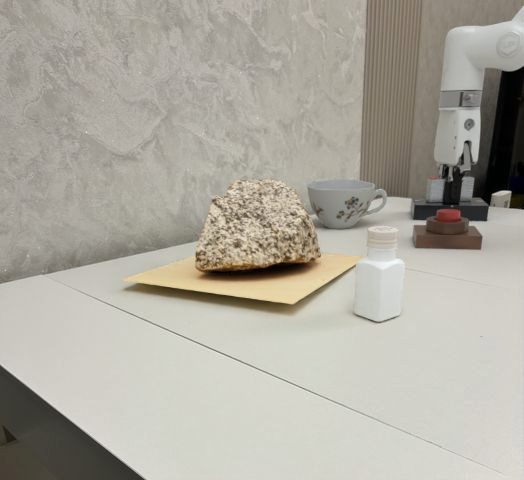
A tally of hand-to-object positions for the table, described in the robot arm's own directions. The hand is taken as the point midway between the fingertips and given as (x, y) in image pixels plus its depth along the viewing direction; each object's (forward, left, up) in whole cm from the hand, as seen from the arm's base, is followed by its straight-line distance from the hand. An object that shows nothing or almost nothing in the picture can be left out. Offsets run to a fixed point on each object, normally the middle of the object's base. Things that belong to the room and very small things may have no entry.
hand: (448, 200), depth 111 cm
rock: (+31, +46, -3) cm, 56 cm away
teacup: (+20, +12, -3) cm, 24 cm away
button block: (+3, +25, -3) cm, 25 cm away
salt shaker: (+14, +61, -3) cm, 63 cm away
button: (+3, +25, 0) cm, 25 cm away
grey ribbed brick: (0, 0, 0) cm, 0 cm away
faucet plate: (0, 0, -3) cm, 3 cm away
